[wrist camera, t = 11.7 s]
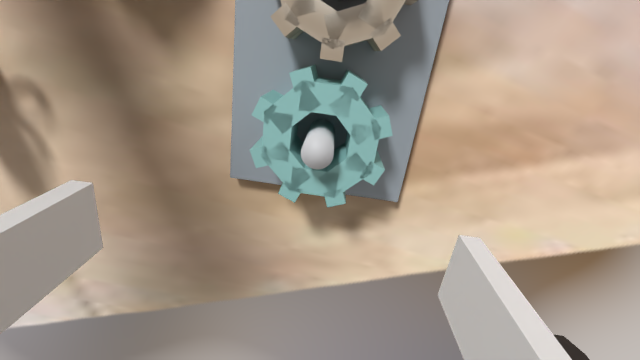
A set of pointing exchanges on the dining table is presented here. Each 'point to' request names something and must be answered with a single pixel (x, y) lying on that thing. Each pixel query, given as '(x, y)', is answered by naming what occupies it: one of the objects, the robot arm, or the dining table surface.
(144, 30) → the dining table surface
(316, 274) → the dining table surface
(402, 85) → the gear board
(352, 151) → the gear
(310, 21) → the gear
